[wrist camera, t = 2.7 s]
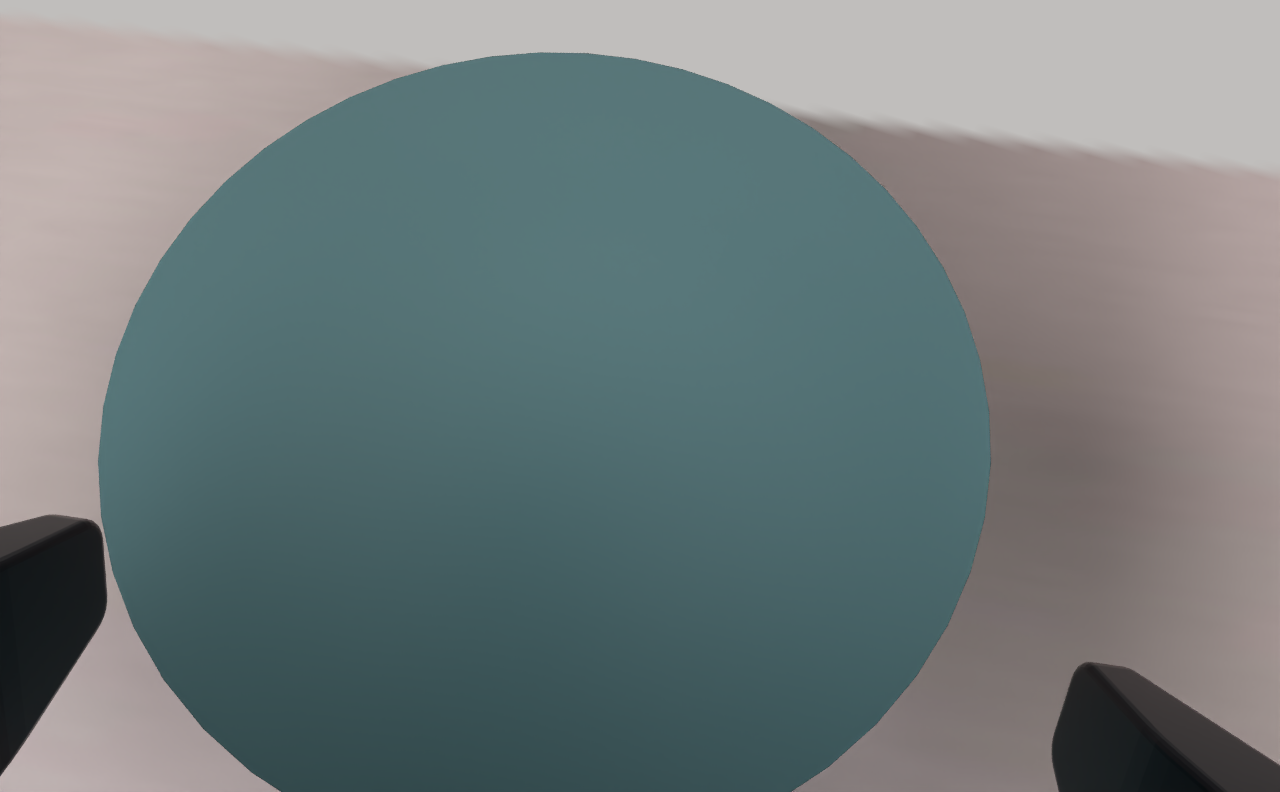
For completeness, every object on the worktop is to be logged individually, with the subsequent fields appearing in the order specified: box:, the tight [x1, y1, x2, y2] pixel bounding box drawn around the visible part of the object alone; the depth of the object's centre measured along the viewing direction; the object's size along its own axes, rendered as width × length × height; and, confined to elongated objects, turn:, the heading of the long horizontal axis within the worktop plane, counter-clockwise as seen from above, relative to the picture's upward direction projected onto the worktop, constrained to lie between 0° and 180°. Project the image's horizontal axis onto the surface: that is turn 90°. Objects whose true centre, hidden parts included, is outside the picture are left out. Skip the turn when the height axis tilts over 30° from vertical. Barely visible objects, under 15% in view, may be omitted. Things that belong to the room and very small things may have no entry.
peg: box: [98, 53, 991, 792], centre depth 10 cm, size 4×4×13 cm
